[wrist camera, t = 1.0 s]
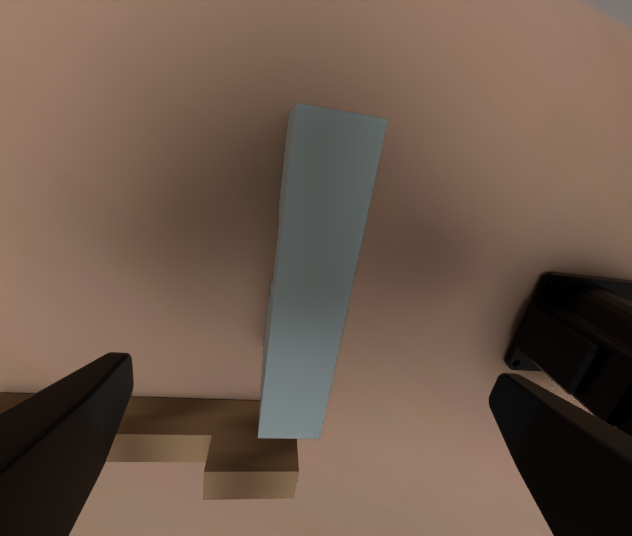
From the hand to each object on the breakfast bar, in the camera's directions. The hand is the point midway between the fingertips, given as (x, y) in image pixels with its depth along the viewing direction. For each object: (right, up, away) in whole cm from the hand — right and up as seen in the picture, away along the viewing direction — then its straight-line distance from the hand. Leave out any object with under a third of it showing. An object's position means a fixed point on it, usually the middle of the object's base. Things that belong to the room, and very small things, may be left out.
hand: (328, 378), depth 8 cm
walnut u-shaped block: (-10, -6, +11) cm, 16 cm away
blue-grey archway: (-1, +4, +8) cm, 9 cm away
